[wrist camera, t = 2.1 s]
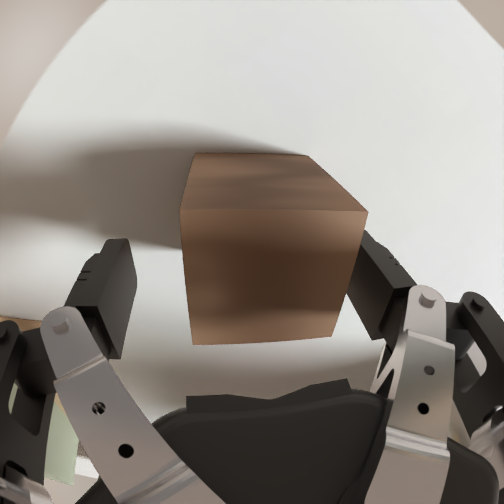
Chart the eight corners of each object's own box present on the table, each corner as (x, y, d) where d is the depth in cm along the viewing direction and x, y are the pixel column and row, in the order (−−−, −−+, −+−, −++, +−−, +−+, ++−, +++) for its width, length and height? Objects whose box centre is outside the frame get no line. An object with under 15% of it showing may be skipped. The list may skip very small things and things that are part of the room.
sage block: (39, 383, 13) (20, 453, 8) (80, 431, 16) (72, 485, 12) (-28, 364, 12) (-50, 418, 7) (15, 413, 15) (4, 460, 11)
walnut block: (308, 155, 13) (368, 211, 8) (295, 249, 15) (331, 336, 10) (194, 152, 12) (179, 209, 7) (197, 251, 15) (192, 344, 10)
